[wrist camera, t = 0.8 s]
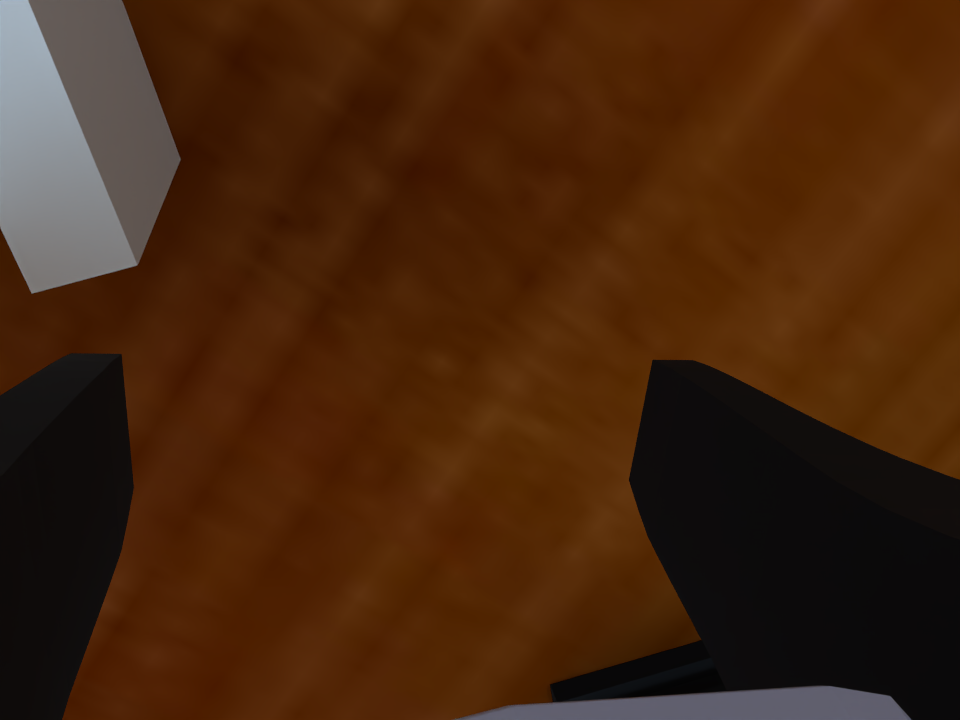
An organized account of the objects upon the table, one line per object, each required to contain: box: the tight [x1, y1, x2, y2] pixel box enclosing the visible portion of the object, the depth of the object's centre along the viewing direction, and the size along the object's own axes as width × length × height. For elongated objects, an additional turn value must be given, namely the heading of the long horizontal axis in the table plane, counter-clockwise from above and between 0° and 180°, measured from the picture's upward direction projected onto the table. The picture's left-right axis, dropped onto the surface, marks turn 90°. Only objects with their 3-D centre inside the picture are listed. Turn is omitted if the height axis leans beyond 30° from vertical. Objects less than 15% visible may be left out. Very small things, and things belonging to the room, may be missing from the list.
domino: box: [0, 0, 181, 293], centre depth 16 cm, size 2×5×8 cm, turn 11°
